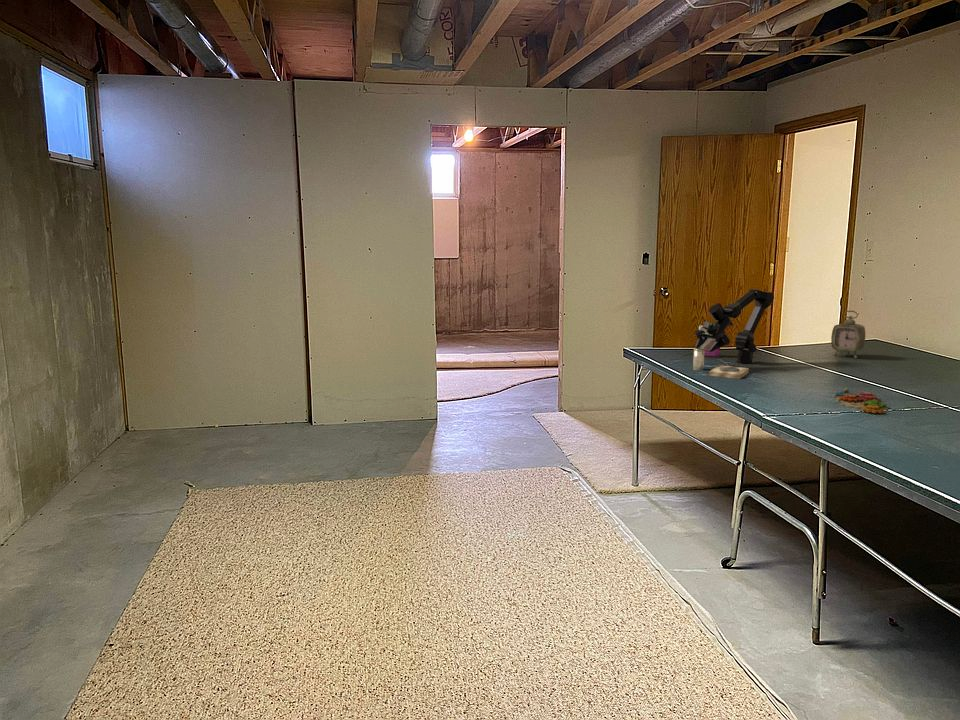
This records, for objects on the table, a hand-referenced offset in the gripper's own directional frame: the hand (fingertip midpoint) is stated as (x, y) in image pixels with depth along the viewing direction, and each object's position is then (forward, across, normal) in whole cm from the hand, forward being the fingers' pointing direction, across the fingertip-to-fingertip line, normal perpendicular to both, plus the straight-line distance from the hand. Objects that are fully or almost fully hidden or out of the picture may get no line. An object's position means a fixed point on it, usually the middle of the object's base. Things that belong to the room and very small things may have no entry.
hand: (702, 350), depth 342 cm
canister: (+8, 0, +5) cm, 10 cm away
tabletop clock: (-59, +15, +71) cm, 94 cm away
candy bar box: (-14, -23, +27) cm, 39 cm away
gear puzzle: (+7, +82, +8) cm, 83 cm away
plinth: (+6, +16, +8) cm, 18 cm away
